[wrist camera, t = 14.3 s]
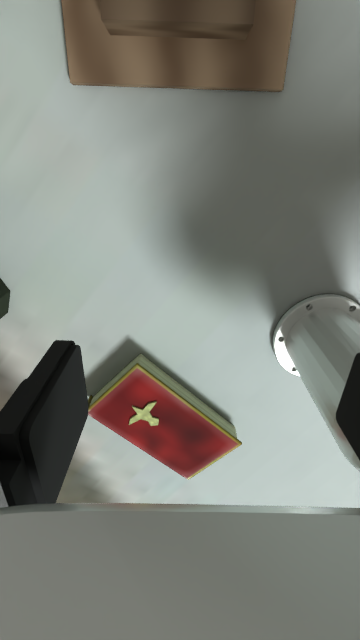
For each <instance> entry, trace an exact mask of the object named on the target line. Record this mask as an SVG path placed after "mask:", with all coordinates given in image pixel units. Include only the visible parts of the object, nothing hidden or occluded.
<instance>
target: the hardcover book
mask: <svg viewBox="0 0 360 640" xmlns="http://www.w3.org/2000/svg"><path fill="white" fill-rule="evenodd" d="M88 407H89V410H88V415H89V416H91V417H93V418H94V419H96V420H97V421H99V422H100V423H102V424H103V425H105V426H106V427H108V428H109V429H111V430H113V431H114V432H116V433H117V434H119V435H120V436H122V437H123V438H125V439H126V440H128V441H129V442H131V443H132V444H134V445H136V446H137V447H139V448H140V449H142V450H143V451H145V452H146V453H148V454H149V455H151V456H152V457H154V458H155V459H157V460H159V461H160V462H162V463H163V464H165V465H166V466H168V467H169V468H171V469H172V470H174V471H175V472H177V473H178V474H180V475H182V476H183V477H185V478H186V479H188V480H189V479H190V478H192V477H193V476H195V475H196V474H198V473H199V472H201V471H202V470H204V469H205V468H207V467H208V466H210V465H211V464H213V463H214V462H216V461H217V460H219V459H220V458H222V457H223V456H225V455H226V454H228V453H229V452H231V451H232V450H234V449H235V448H237V447H238V446H240V445H241V444H242V442H241V441H239V440H238V439H237V435H236V430H235V427H234V426H233V425H232V424H231V423H229V422H228V421H227V420H225V419H224V418H223V417H221V416H220V415H219V414H218V413H216V412H215V411H214V410H212V409H211V408H210V407H209V406H207V405H206V404H205V403H203V402H202V401H201V400H200V399H198V398H197V397H196V396H194V395H193V394H192V393H191V392H189V391H188V390H187V389H185V388H184V387H183V386H182V385H180V384H179V383H178V382H176V381H175V380H174V379H173V378H171V377H170V376H169V375H167V374H166V373H165V372H164V371H162V370H161V369H160V368H158V367H157V366H156V365H155V364H153V363H152V362H151V361H149V360H148V359H147V358H146V357H144V356H143V355H142V354H139V355H138V356H137V357H136V358H135V359H134V360H133V361H132V362H131V363H129V364H128V365H127V366H126V367H125V368H124V369H123V370H122V371H121V372H120V373H119V374H117V375H116V376H115V377H114V378H113V379H112V380H111V381H110V382H109V383H108V384H107V385H106V386H104V387H103V388H102V389H101V390H100V391H99V392H98V393H97V394H96V395H95V396H94V397H93V396H92V395H91V396H90V397H89V399H88Z"/></svg>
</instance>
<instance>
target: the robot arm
mask: <svg viewBox="0 0 360 640" xmlns="http://www.w3.org/2000/svg"><path fill="white" fill-rule="evenodd" d="M307 305H308V306H307ZM273 349H274V353H275V355H276V358H277V359H278V361H279V363H280V364H281V365H282V366H283V367H284V368H285V369H286V370H287V371H289V372H290V373H292V374H295V375H297V376H300V377H301V379H302V381H303V383H304V384H305V386H306V388H307V390H308V392H309V394H310V395H311V397H312V399H313V401H314V403H315V404H316V406H317V408H318V410H319V412H320V413H321V415H322V417H323V419H324V421H325V422H326V424H327V426H328V428H329V430H330V432H331V433H332V435H333V437H334V439H335V441H336V443H337V444H338V446H339V448H340V450H341V451H342V453H343V454H344V456H345V457H346V459H347V460H348V461H349V462H350V463H351V464H352V465H353V466H354V467H355V468H356V469H357V470H359V471H360V306H359V305H358V304H357V303H356V302H354V301H353V300H351V299H349V298H347V297H345V296H340V295H336V294H324V295H317V296H313V297H310V298H307V299H305V300H303V301H301V302H299V303H297V304H296V305H294V306H293V307H292V308H290V309H289V310H288V311H287V312H286V313H285V314H284V315H283V317H282V318H281V319H280V321H279V322H278V324H277V326H276V328H275V331H274V335H273ZM88 410H89V407H88V399H87V392H86V384H85V377H84V370H83V363H82V356H81V349H80V346H79V345H75V343H74V341H63V340H56V341H54V342H53V344H52V345H51V347H50V348H49V349H48V351H47V352H46V354H45V355H44V356H43V358H42V359H41V361H40V362H39V363H38V365H37V366H36V368H35V369H34V370H33V372H32V373H31V375H30V376H29V377H28V378H27V379H25V380H23V382H22V383H21V384H20V385H19V387H18V388H17V389H16V391H15V392H14V393H13V395H12V396H11V398H10V399H9V400H8V402H7V403H6V404H5V406H4V407H3V409H2V410H1V411H0V640H360V508H334V507H293V506H249V505H200V504H140V503H56V500H57V497H58V495H59V492H60V489H61V487H62V484H63V481H64V478H65V476H66V473H67V470H68V468H69V465H70V462H71V460H72V457H73V454H74V452H75V449H76V446H77V443H78V441H79V438H80V435H81V433H82V430H83V427H84V425H85V422H86V419H87V416H88Z"/></svg>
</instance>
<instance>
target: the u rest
mask: <svg viewBox="0 0 360 640" xmlns="http://www.w3.org/2000/svg"><path fill="white" fill-rule="evenodd" d="M61 2H62V11H63V20H64V30H65V39H66V48H67V58H68V67H69V76H70V83H71V84H73V85H89V86H119V87H149V88H179V89H208V90H238V91H268V92H281V91H282V90H283V87H284V80H285V73H286V67H287V60H288V53H289V46H290V39H291V32H292V25H293V19H294V12H295V5H296V0H61Z"/></svg>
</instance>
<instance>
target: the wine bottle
mask: <svg viewBox="0 0 360 640" xmlns="http://www.w3.org/2000/svg"><path fill="white" fill-rule="evenodd" d="M9 298H10V290H9V289H8V287H7V286H6V285H5V284H4V282H3V281H2V280H1V279H0V319H1V318H2V317H3V316H4V315H5V314H7V313H8V308H9Z"/></svg>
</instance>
